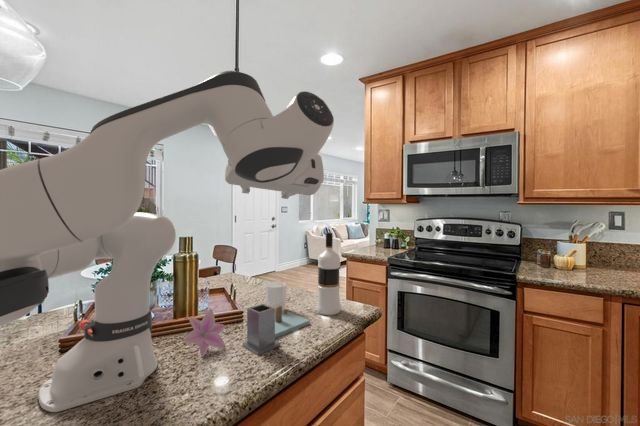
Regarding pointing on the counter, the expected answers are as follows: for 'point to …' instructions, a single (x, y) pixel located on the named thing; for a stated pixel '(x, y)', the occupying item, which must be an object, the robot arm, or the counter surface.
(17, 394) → the counter surface
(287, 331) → the board
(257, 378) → the counter surface
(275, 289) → the white cup
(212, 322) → the lily
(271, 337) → the sleeve
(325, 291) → the vodka
